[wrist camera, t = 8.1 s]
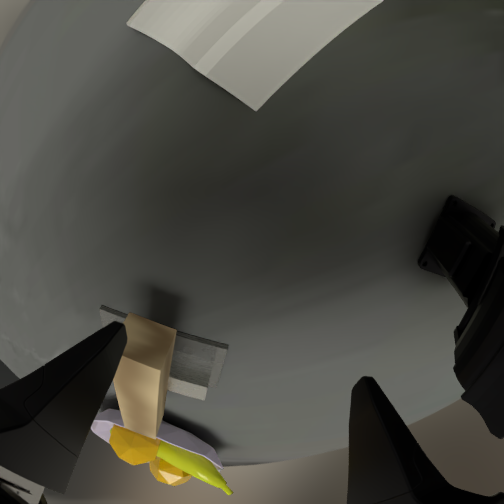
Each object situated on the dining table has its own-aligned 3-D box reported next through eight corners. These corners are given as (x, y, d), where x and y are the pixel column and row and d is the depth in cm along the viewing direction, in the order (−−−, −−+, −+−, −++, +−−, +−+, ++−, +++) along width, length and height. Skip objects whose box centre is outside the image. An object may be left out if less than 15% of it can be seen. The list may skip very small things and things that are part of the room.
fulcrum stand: (228, 345, 26) (221, 377, 22) (216, 384, 30) (210, 411, 26) (101, 305, 25) (83, 330, 22) (110, 349, 29) (97, 373, 26)
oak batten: (176, 329, 20) (160, 370, 16) (163, 413, 29) (155, 439, 25) (129, 312, 19) (107, 349, 16) (134, 403, 28) (125, 427, 25)
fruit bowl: (106, 423, 47) (91, 459, 38) (91, 373, 34) (63, 428, 24) (216, 461, 50) (209, 500, 40) (257, 431, 37) (250, 492, 27)
